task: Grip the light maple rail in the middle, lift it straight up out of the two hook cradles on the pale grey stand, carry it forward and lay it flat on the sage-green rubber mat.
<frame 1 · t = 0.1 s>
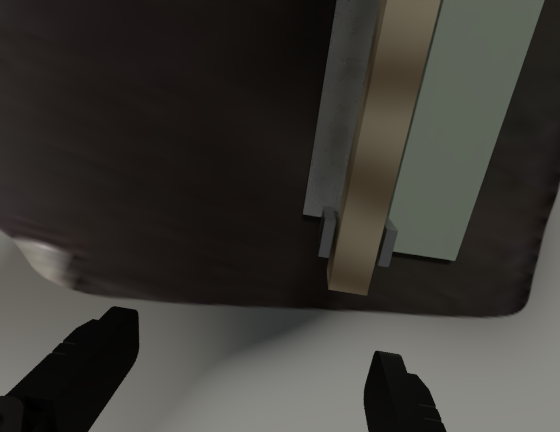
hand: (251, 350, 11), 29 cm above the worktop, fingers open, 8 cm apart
rail: (386, 75, 23), point 12 cm above the worktop, touching hook stand
hook stand: (360, 85, 34), on the worktop
mat: (459, 98, 34), on the worktop
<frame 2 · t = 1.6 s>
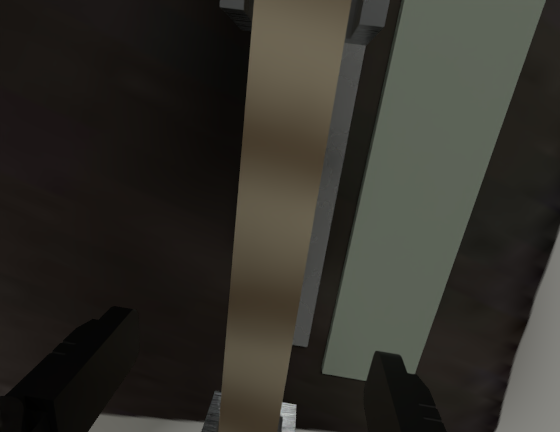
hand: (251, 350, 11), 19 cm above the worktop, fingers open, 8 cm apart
rail: (272, 263, 16), point 12 cm above the worktop, touching hook stand
hook stand: (288, 196, 28), on the worktop
mat: (408, 214, 28), on the worktop
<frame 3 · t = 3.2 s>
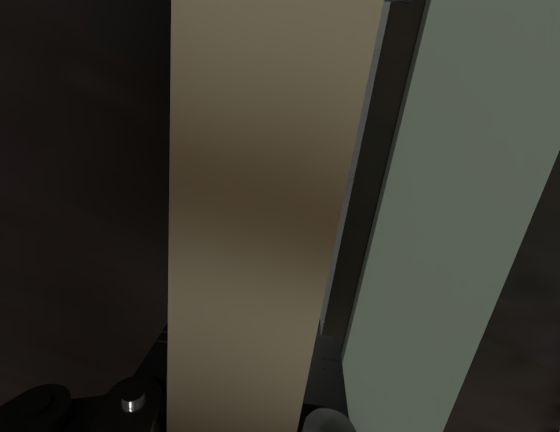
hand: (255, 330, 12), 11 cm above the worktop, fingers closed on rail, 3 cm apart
rail: (250, 357, 10), point 12 cm above the worktop, touching gripper, hook stand
hook stand: (282, 224, 22), on the worktop
mat: (435, 247, 22), on the worktop
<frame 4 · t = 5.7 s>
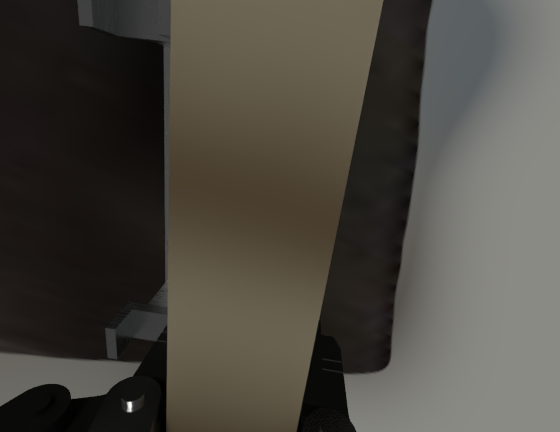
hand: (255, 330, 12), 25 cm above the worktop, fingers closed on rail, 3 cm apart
rail: (249, 358, 10), point 27 cm above the worktop, touching gripper
hook stand: (203, 165, 36), on the worktop
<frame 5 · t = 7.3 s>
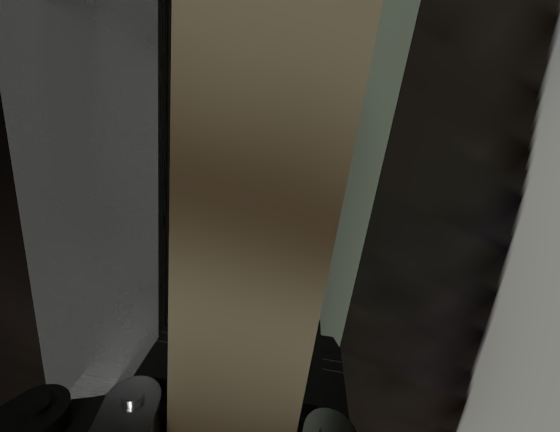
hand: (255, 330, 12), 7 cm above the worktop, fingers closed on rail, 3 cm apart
rail: (250, 359, 10), point 8 cm above the worktop, touching gripper
hook stand: (99, 221, 19), on the worktop
mat: (276, 249, 18), on the worktop
when the fingers open (2 cm above the worktop, at t = 8.6 s): rail drops 2 cm, resting on mat.
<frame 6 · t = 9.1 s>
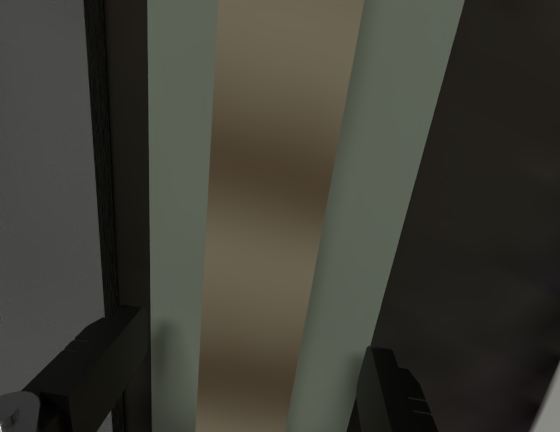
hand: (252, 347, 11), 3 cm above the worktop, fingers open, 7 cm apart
rail: (260, 312, 13), point 1 cm above the worktop, touching mat
hook stand: (28, 259, 14), on the worktop
mat: (263, 297, 14), on the worktop
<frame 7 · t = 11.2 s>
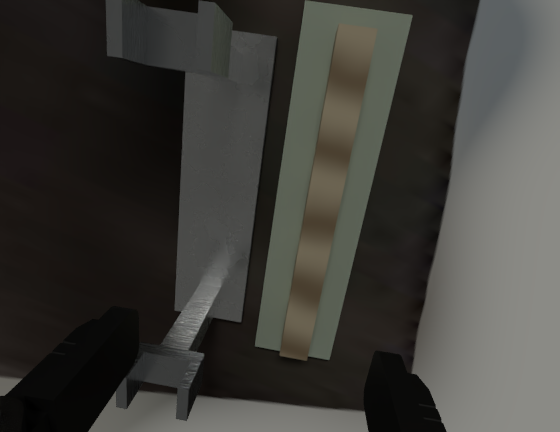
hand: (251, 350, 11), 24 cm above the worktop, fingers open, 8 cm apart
rail: (319, 211, 33), point 1 cm above the worktop, touching mat
hook stand: (220, 191, 34), on the worktop
mat: (319, 208, 33), on the worktop
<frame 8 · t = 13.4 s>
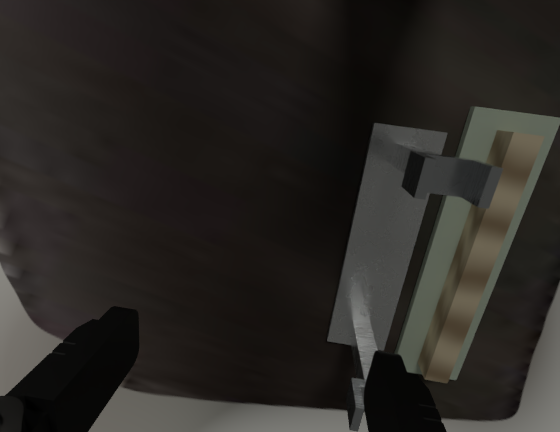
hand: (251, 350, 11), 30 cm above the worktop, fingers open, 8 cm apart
rail: (464, 263, 40), point 1 cm above the worktop, touching mat
hook stand: (378, 247, 41), on the worktop
mat: (460, 259, 41), on the worktop
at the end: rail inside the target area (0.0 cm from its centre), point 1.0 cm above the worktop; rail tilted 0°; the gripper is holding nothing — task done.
